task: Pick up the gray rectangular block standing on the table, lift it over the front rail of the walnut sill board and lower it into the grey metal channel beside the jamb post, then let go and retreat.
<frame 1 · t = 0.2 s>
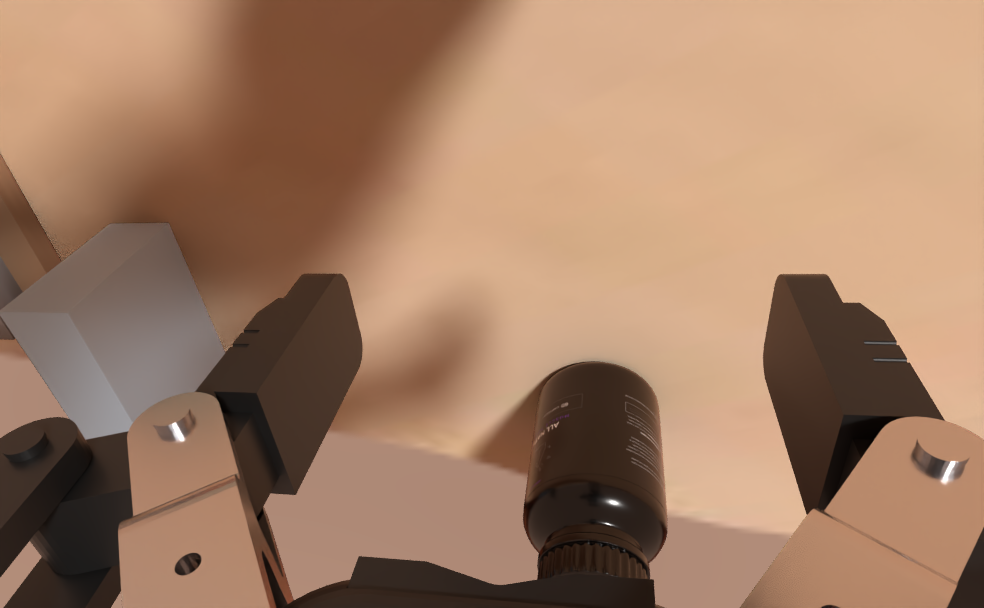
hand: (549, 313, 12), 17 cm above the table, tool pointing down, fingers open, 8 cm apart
gray rectangular block: (175, 299, 37), on the table
supplement bottle: (597, 399, 37), on the table
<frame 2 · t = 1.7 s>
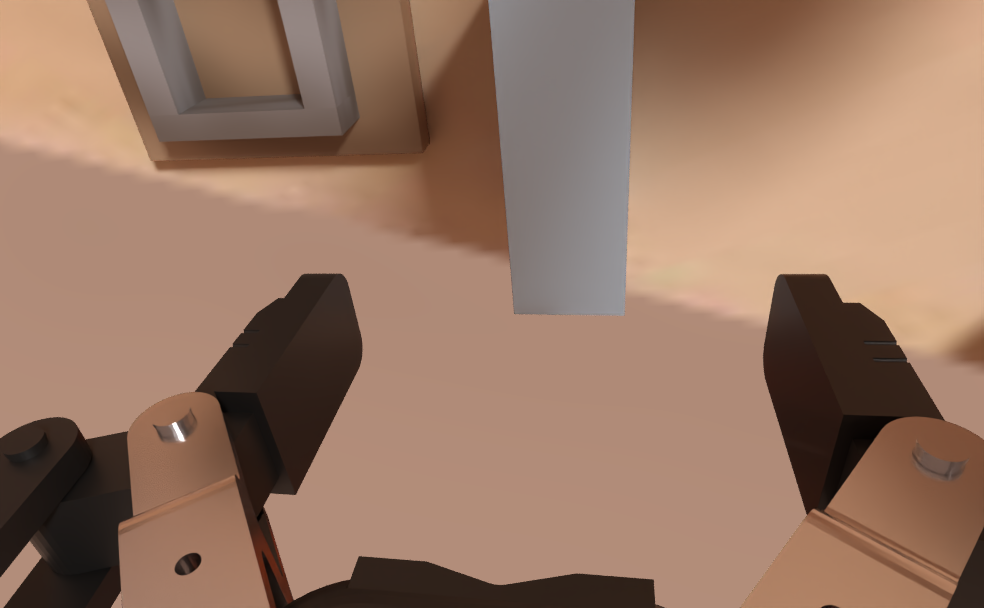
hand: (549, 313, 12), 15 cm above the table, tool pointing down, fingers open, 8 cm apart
gray rectangular block: (576, 84, 24), on the table
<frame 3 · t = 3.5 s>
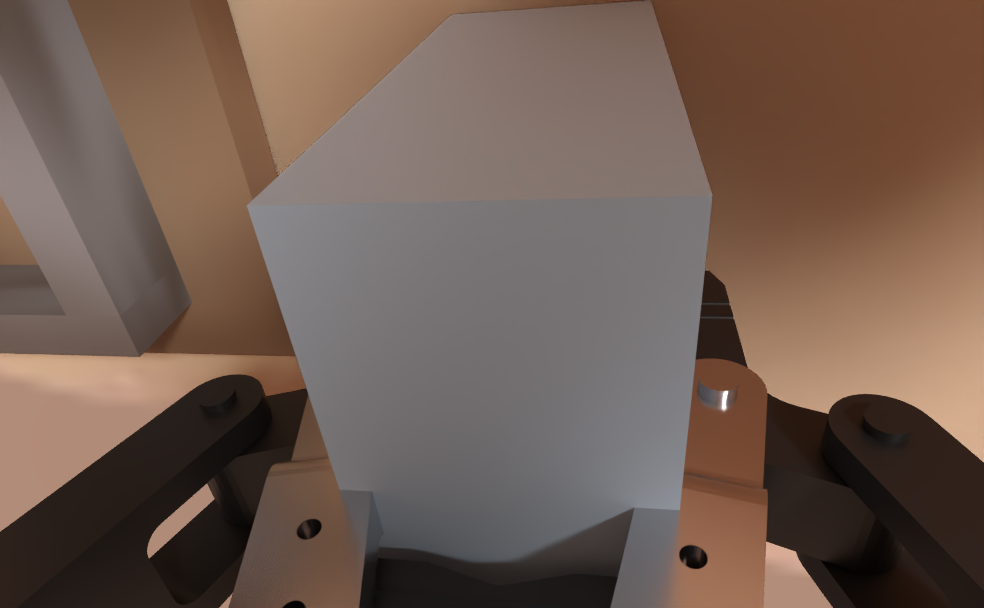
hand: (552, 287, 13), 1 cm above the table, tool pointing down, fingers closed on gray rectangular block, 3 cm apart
gray rectangular block: (558, 256, 14), on the table, touching gripper
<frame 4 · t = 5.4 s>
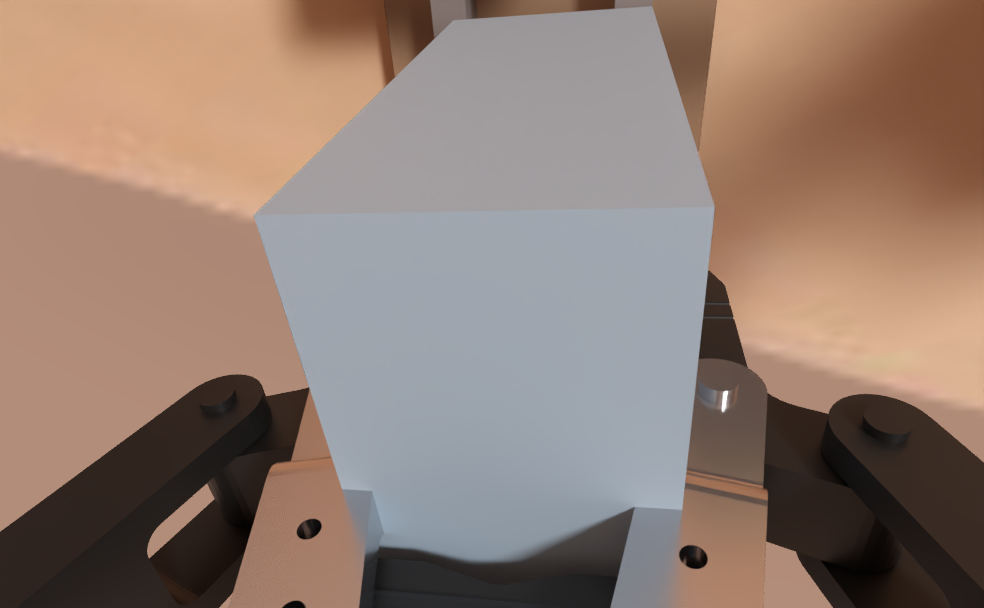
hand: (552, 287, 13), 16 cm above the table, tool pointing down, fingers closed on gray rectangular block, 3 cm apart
gray rectangular block: (559, 260, 14), point 14 cm above the table, touching gripper
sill: (547, 33, 25), on the table
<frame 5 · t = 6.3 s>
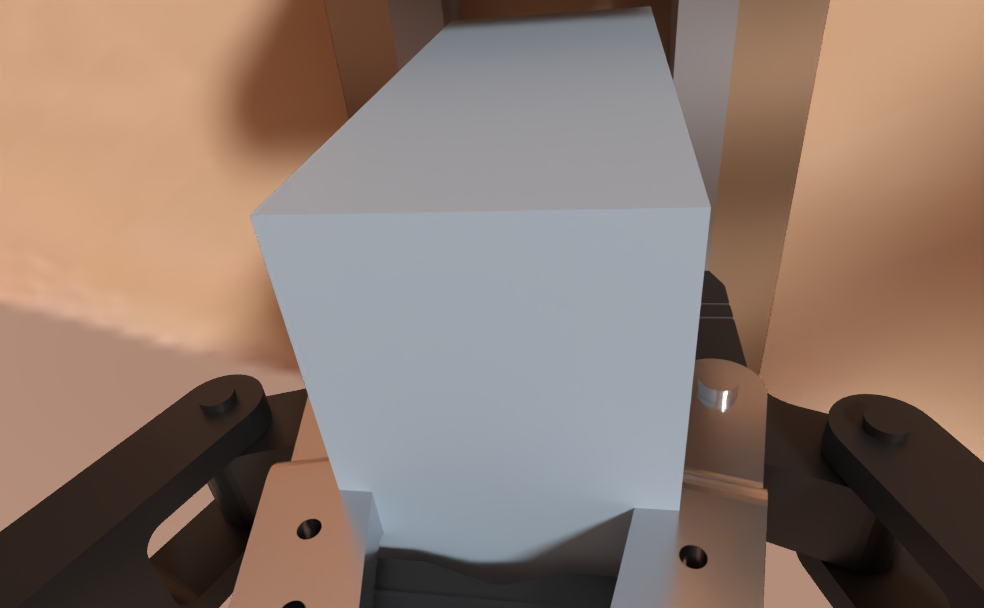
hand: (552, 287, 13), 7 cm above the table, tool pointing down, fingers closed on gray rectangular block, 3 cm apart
gray rectangular block: (558, 260, 14), point 6 cm above the table, touching gripper
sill: (569, 145, 19), on the table
when the fingers open (4 cm above the table, at t = 7.2 s): gray rectangular block drops 1 cm, resting on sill.
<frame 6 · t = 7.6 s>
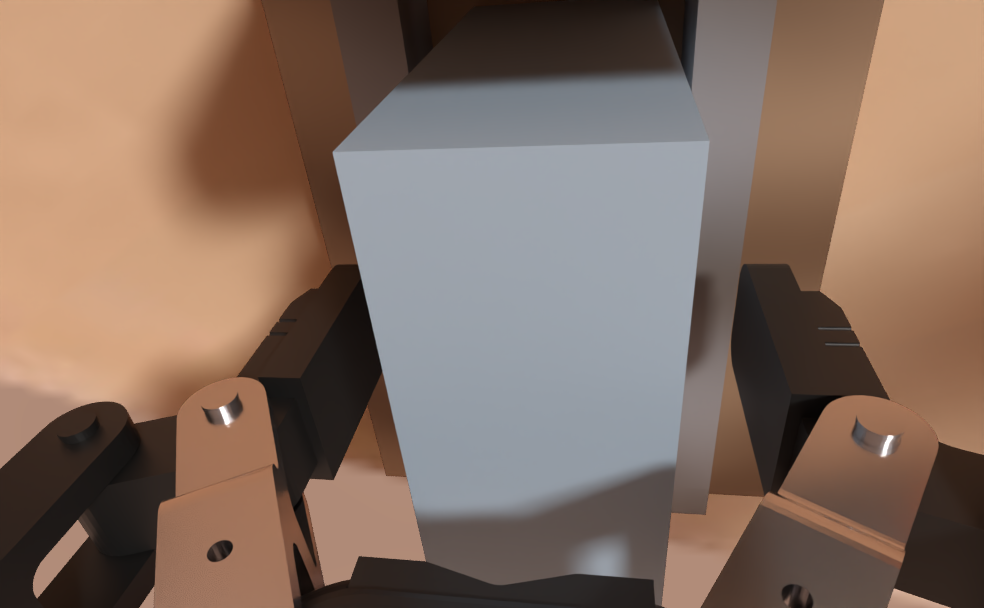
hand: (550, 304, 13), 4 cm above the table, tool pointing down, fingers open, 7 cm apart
gray rectangular block: (567, 231, 15), point 1 cm above the table, touching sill
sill: (563, 205, 16), on the table
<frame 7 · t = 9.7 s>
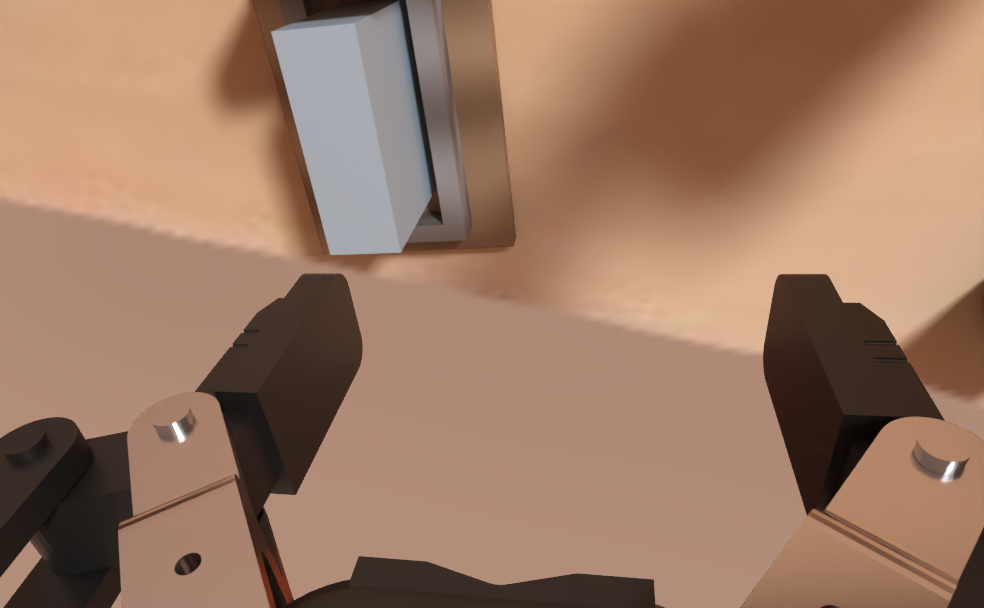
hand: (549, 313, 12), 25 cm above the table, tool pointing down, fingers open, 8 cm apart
gray rectangular block: (390, 102, 35), point 1 cm above the table, touching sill
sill: (392, 95, 36), on the table
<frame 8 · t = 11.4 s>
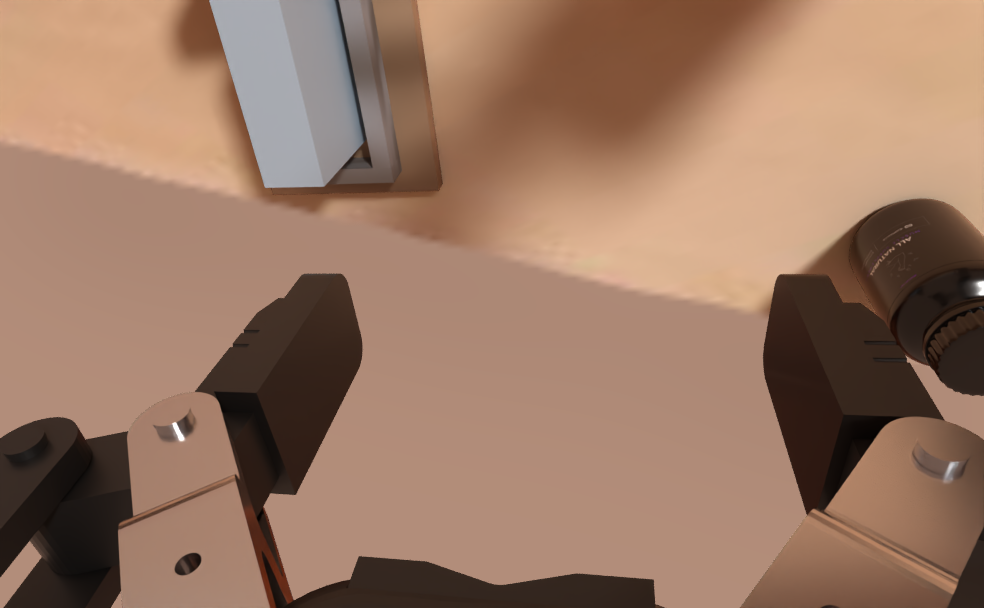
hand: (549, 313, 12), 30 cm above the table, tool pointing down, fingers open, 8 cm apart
gray rectangular block: (326, 57, 39), point 1 cm above the table, touching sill
supplement bottle: (902, 242, 42), on the table
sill: (330, 51, 40), on the table
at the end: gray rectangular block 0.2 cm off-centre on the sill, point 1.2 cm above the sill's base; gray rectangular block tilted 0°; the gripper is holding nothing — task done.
